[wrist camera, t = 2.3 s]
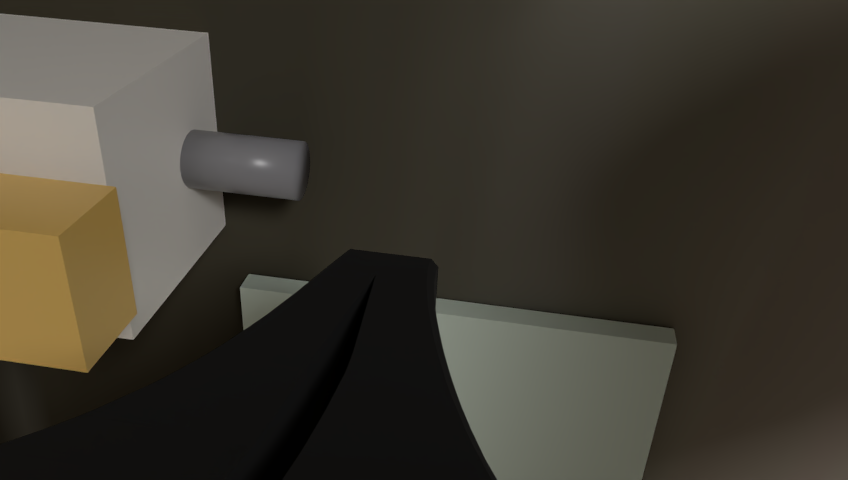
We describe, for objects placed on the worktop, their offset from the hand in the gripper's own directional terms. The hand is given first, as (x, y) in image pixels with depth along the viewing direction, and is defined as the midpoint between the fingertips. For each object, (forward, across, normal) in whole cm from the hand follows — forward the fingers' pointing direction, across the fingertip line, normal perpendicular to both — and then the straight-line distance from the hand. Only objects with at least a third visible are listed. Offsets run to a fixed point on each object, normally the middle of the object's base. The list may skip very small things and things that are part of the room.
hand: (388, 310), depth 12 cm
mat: (+6, 0, +8) cm, 9 cm away
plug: (+6, +6, 0) cm, 9 cm away
